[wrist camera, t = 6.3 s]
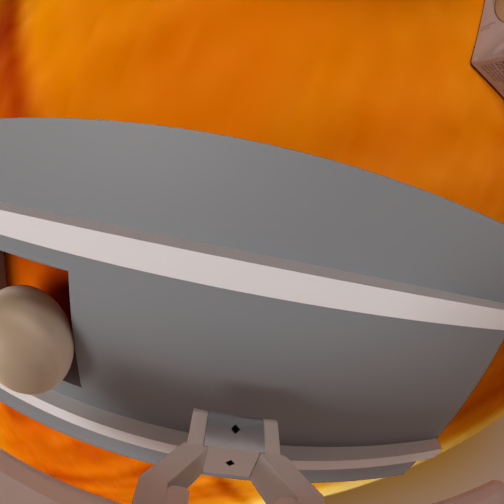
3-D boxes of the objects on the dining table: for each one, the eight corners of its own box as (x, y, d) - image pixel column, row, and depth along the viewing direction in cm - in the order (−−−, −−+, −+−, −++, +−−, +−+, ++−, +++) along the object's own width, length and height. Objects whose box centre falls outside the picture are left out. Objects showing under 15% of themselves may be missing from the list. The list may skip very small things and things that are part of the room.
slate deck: (514, 231, 12) (555, 250, 9) (394, 450, 18) (407, 484, 15) (-33, 122, 10) (-74, 125, 7) (-6, 368, 16) (-29, 394, 13)
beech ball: (80, 273, 13) (54, 333, 8) (84, 355, 14) (73, 424, 10) (-6, 262, 11) (-53, 312, 7) (8, 343, 12) (-19, 404, 8)
